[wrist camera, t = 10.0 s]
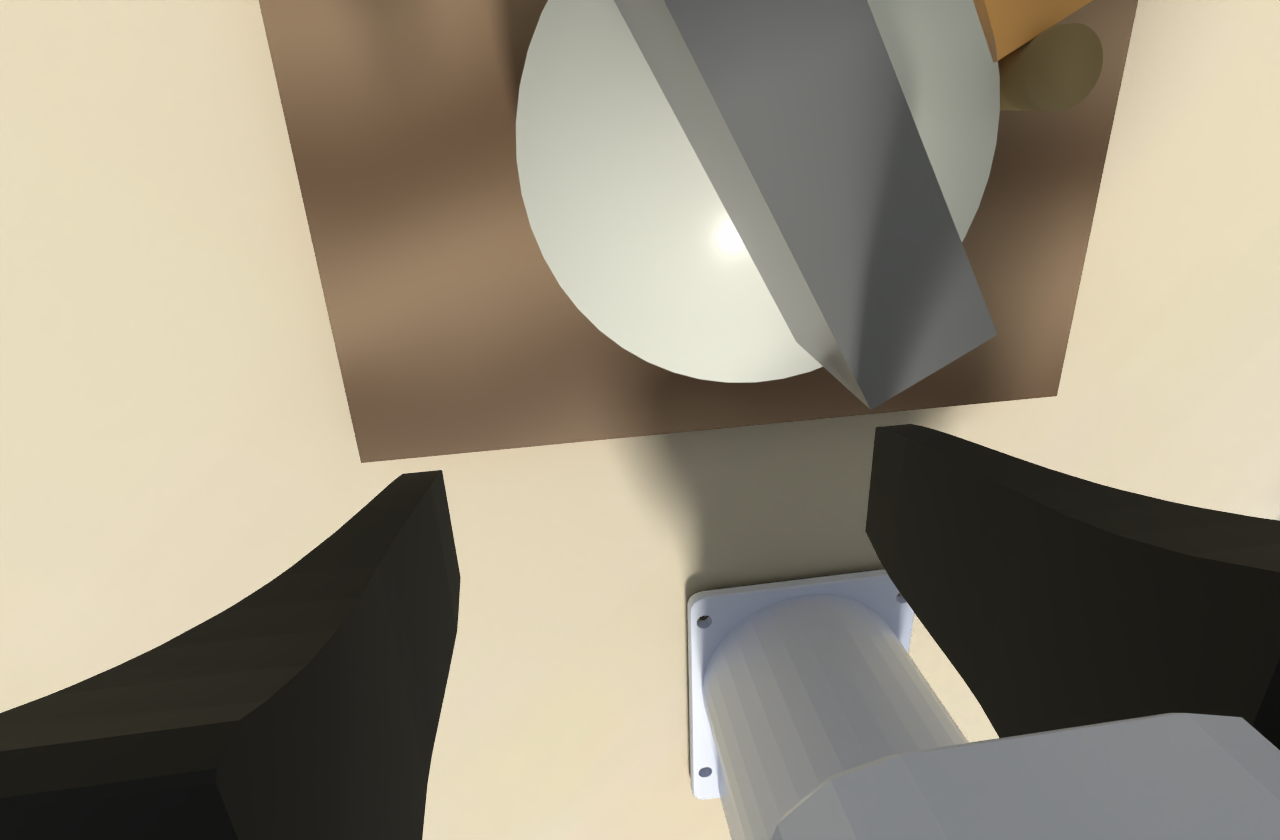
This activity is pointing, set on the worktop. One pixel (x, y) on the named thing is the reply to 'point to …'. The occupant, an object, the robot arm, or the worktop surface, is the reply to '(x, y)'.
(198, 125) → the worktop surface
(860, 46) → the flange disc
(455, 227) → the walnut base
